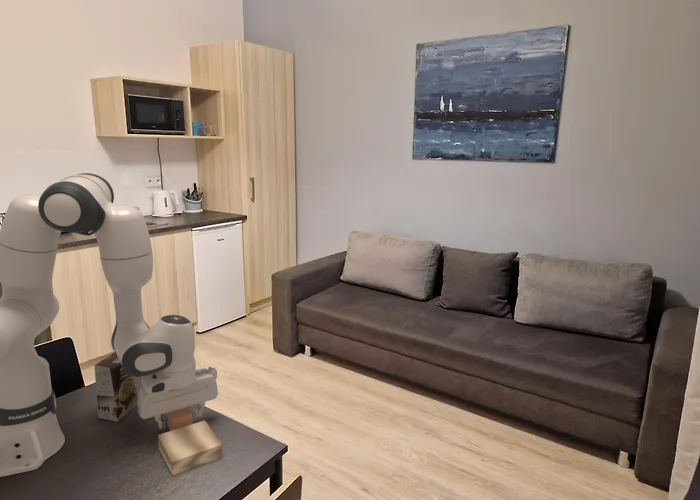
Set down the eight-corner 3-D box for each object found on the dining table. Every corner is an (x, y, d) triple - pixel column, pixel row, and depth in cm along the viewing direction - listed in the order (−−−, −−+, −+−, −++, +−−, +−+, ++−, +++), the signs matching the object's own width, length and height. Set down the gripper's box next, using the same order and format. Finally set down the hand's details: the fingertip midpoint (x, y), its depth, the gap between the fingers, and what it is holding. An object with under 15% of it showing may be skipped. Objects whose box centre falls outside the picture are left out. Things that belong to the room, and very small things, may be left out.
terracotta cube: (173, 436, 125) (172, 419, 123) (168, 426, 128) (167, 410, 127) (192, 430, 127) (192, 414, 126) (186, 421, 131) (186, 405, 130)
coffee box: (118, 422, 129) (114, 368, 125) (97, 418, 130) (92, 365, 127) (139, 404, 138) (135, 353, 134) (119, 400, 139) (115, 350, 135)
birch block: (172, 477, 111) (171, 462, 110) (158, 448, 120) (157, 435, 119) (222, 458, 118) (221, 444, 117) (205, 433, 127) (204, 420, 126)
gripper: (212, 360, 132) (213, 404, 136) (134, 379, 121) (137, 427, 124) (221, 369, 128) (221, 415, 131) (140, 390, 116) (143, 440, 119)
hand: (180, 421), depth 127 cm, fingers open, 8 cm apart
